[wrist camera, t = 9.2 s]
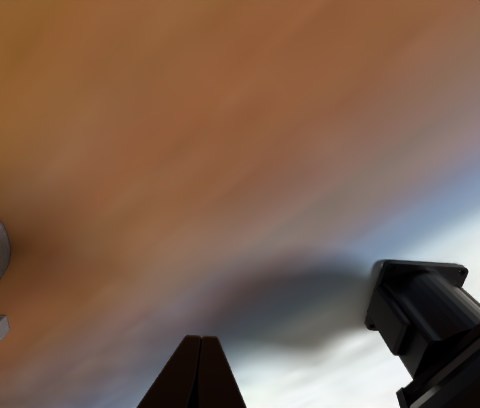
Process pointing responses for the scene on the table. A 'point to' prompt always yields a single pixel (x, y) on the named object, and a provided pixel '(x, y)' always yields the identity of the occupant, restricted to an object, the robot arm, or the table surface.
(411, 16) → the table surface
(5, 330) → the bay
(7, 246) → the pillar candle
